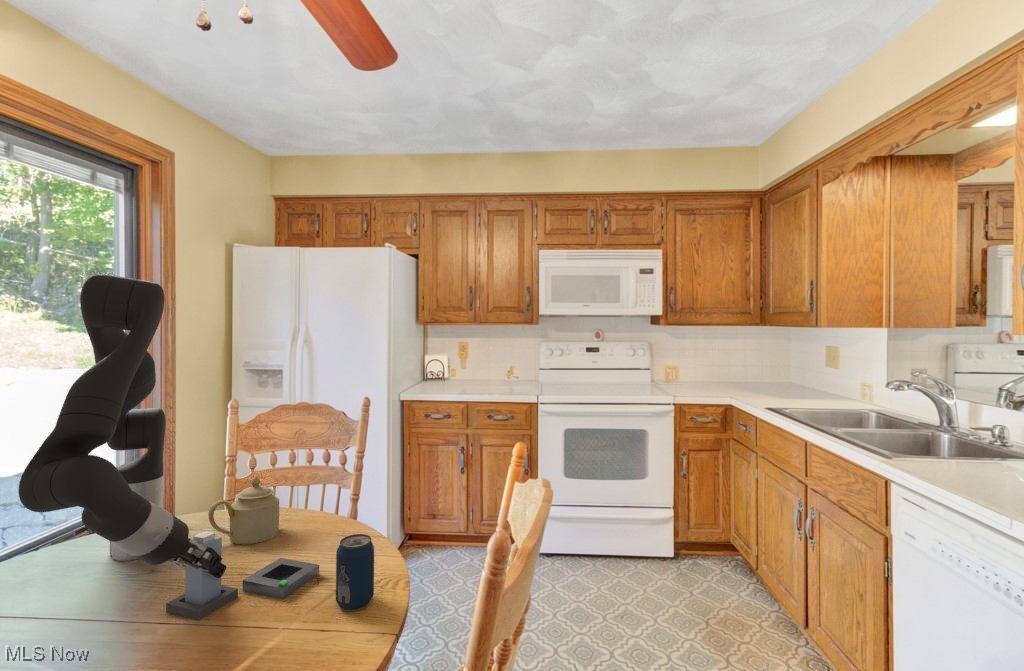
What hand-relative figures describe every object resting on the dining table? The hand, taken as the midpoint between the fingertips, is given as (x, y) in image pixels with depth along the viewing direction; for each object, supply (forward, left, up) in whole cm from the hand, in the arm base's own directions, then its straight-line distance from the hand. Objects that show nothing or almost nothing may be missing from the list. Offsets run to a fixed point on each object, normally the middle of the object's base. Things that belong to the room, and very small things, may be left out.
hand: (212, 570), depth 91 cm
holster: (0, -2, -6) cm, 6 cm away
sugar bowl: (-16, +24, -6) cm, 30 cm away
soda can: (+26, +8, -6) cm, 28 cm away
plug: (0, -2, -5) cm, 6 cm away
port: (+8, +9, -6) cm, 13 cm away
